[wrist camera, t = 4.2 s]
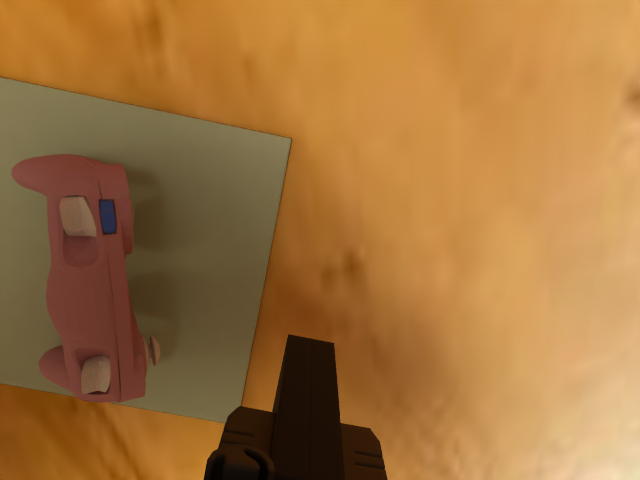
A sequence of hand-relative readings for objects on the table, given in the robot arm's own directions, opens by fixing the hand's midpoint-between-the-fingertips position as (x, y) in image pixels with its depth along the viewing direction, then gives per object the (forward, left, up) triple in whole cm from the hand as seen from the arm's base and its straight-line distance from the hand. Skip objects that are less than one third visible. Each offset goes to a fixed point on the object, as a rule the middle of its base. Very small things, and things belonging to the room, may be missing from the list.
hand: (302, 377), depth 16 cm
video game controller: (-9, 0, -7) cm, 12 cm away
